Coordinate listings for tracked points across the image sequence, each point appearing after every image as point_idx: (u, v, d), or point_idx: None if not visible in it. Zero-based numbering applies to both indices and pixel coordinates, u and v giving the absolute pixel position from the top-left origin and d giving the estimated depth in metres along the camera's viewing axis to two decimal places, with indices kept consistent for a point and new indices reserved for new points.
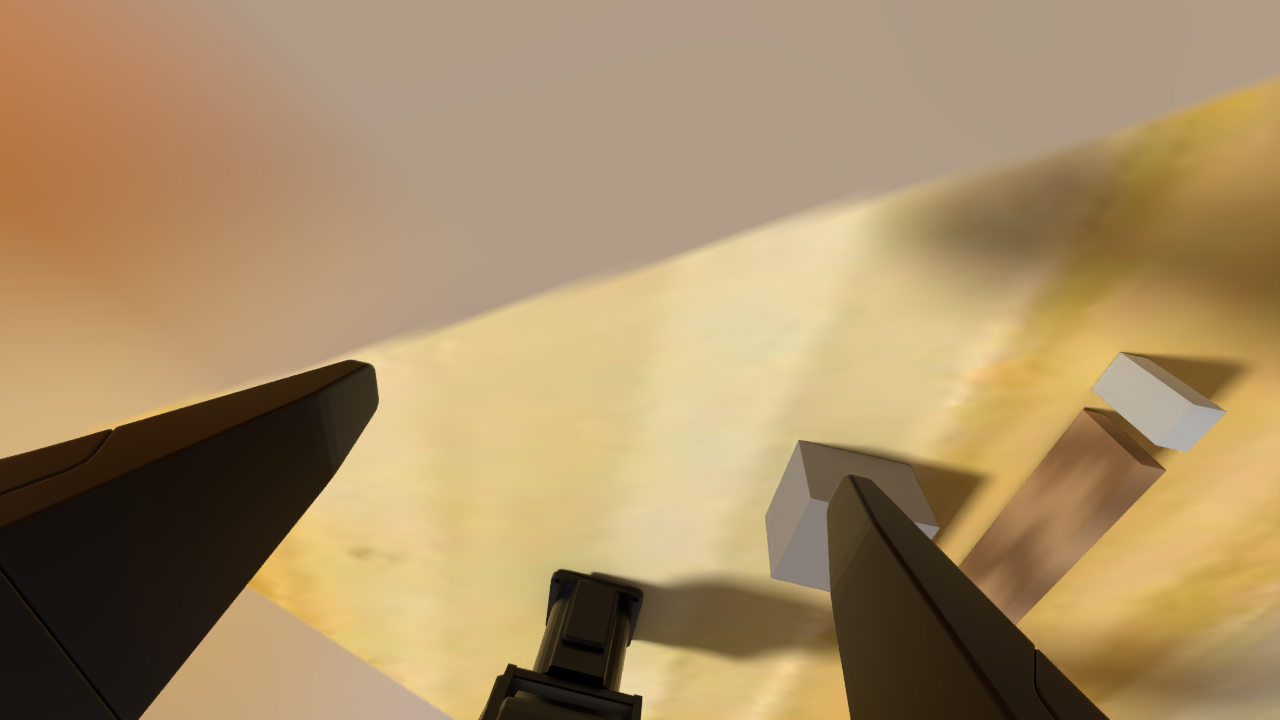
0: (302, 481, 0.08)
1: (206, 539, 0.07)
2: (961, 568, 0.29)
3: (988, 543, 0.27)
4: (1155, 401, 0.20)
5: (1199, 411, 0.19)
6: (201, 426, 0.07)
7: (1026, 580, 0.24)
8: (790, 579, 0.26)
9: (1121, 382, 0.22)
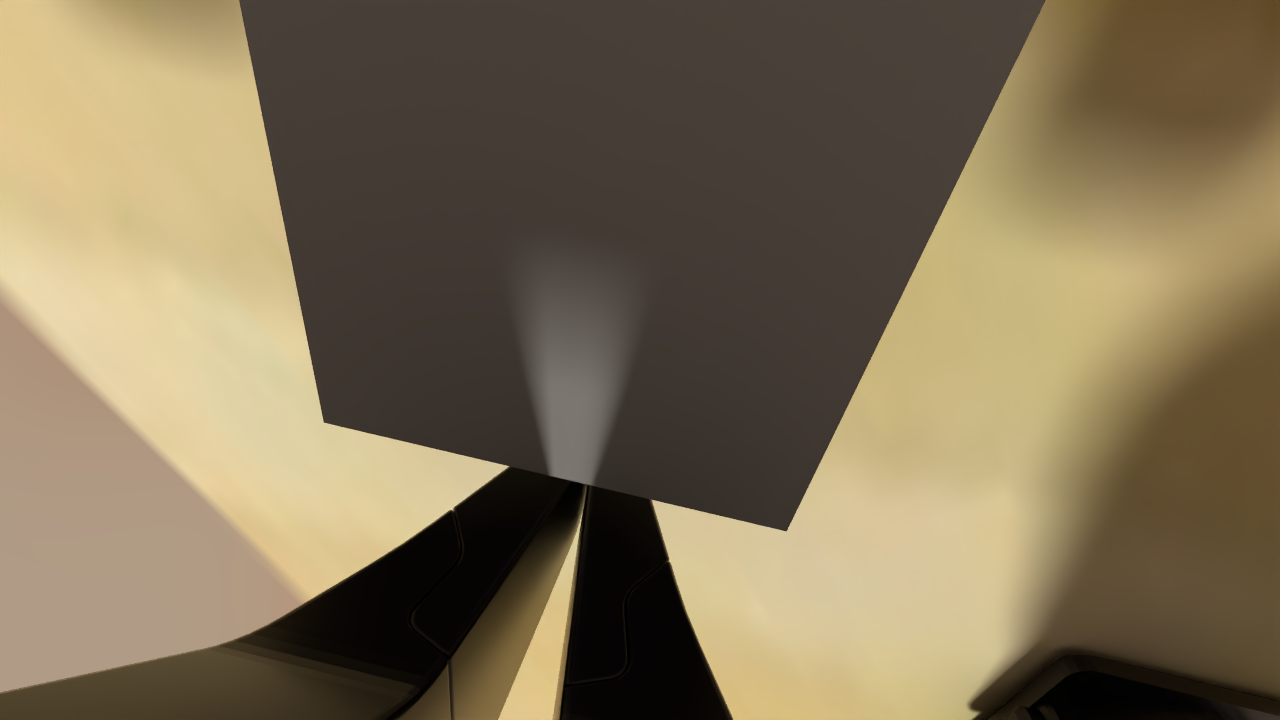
0: (565, 544, 0.08)
1: (522, 616, 0.07)
2: None
3: None
4: None
5: None
6: (524, 502, 0.06)
7: None
8: (792, 471, 0.06)
9: None
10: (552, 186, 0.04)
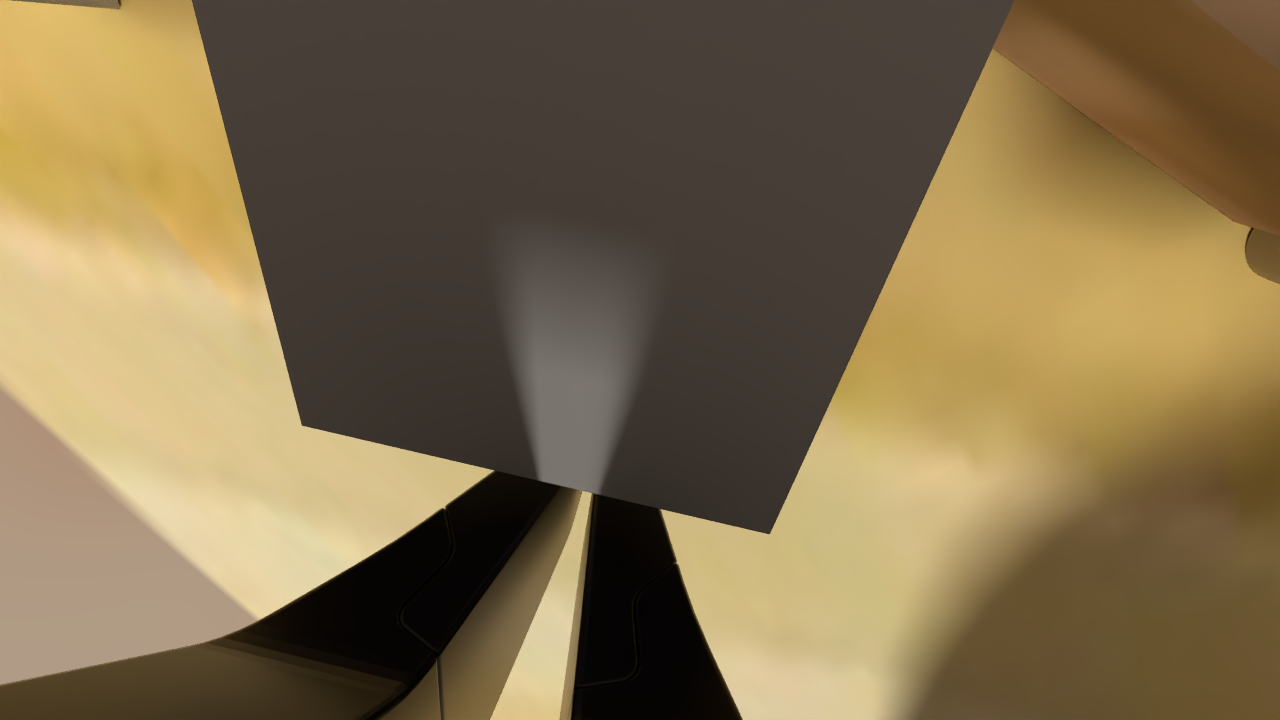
0: (558, 542, 0.08)
1: (515, 614, 0.07)
2: None
3: None
4: None
5: None
6: (516, 500, 0.06)
7: None
8: (774, 474, 0.06)
9: None
10: (518, 186, 0.04)
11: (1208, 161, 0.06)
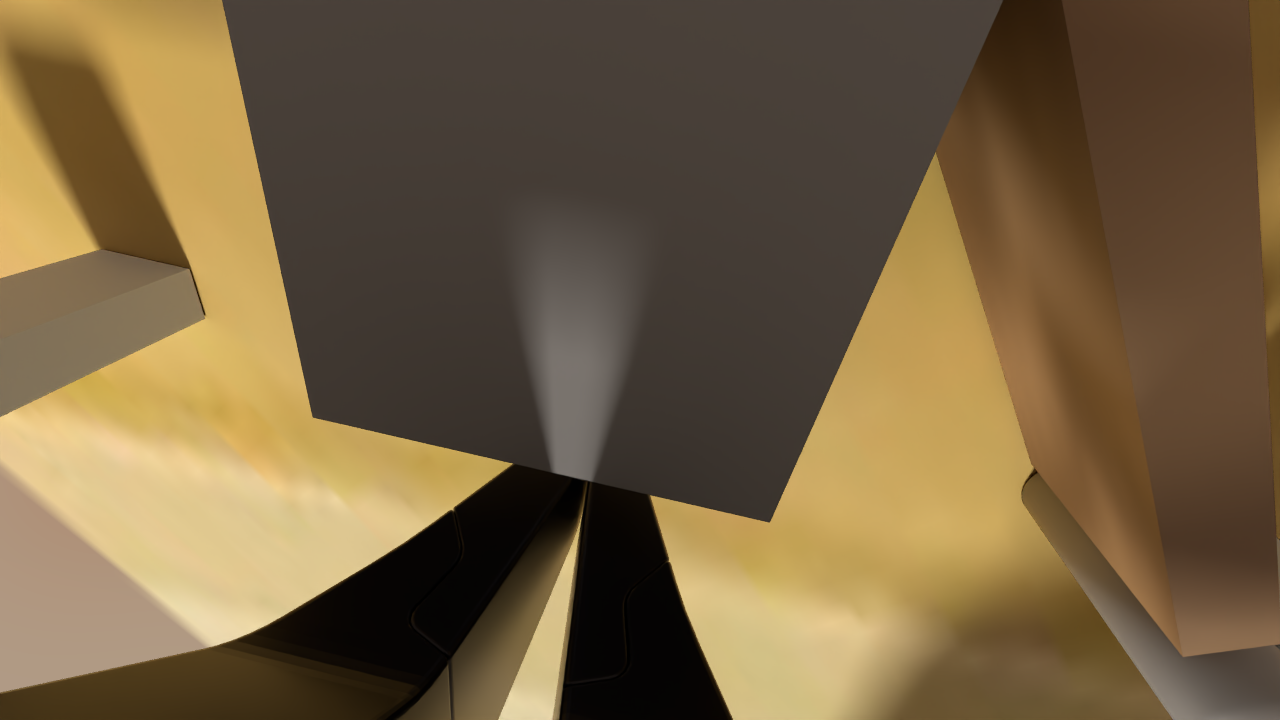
0: (565, 544, 0.08)
1: (522, 616, 0.07)
2: (966, 232, 0.08)
3: None
4: None
5: None
6: (524, 502, 0.06)
7: None
8: (774, 462, 0.06)
9: None
10: (531, 182, 0.05)
11: (1050, 430, 0.08)
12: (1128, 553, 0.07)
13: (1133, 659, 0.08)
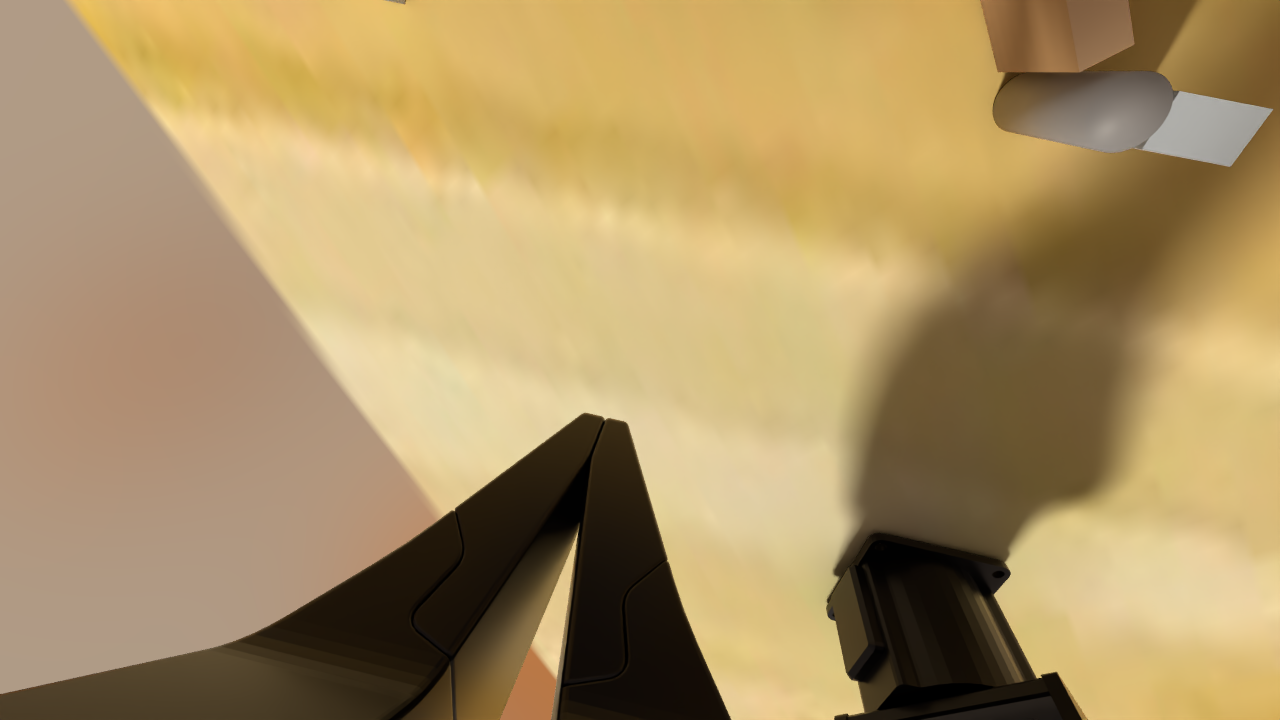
0: (566, 544, 0.08)
1: (524, 617, 0.07)
2: None
3: None
4: None
5: None
6: (526, 503, 0.06)
7: None
8: None
9: None
10: None
11: None
12: (1048, 23, 0.11)
13: (1057, 127, 0.12)
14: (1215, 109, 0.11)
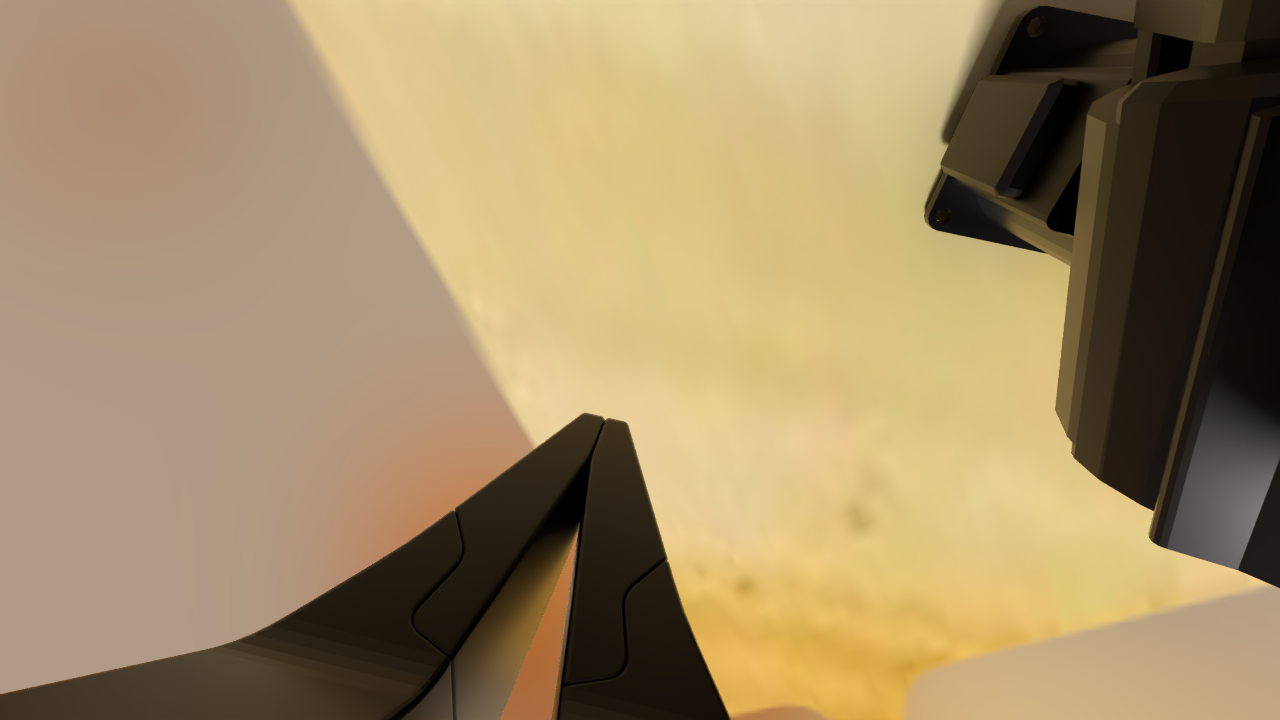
0: (566, 544, 0.08)
1: (524, 616, 0.07)
2: None
3: None
4: None
5: None
6: (526, 502, 0.06)
7: None
8: None
9: None
10: None
11: None
12: None
13: None
14: None
